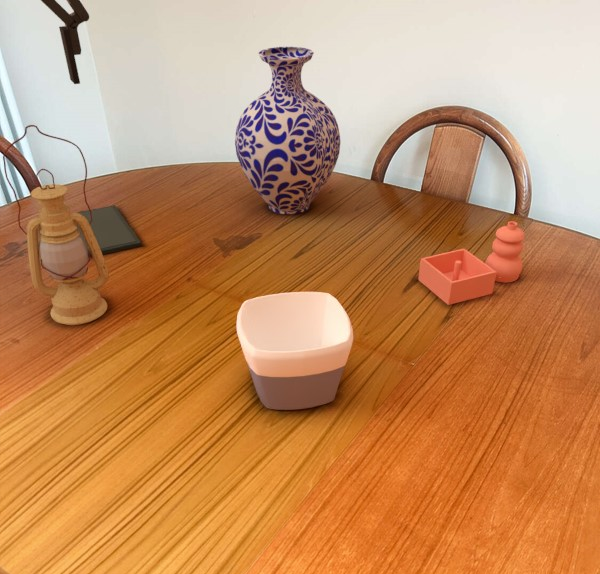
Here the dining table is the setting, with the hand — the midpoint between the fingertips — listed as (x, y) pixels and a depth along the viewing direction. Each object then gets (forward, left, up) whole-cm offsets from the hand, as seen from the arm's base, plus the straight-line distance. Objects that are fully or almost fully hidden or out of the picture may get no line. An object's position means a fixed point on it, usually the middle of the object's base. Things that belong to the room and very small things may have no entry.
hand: (24, 88), depth 88 cm
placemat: (+8, +28, -35) cm, 45 cm away
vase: (+50, +22, -35) cm, 65 cm away
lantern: (0, 0, -35) cm, 35 cm away
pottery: (+65, -23, -35) cm, 77 cm away
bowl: (+23, -35, -35) cm, 54 cm away
